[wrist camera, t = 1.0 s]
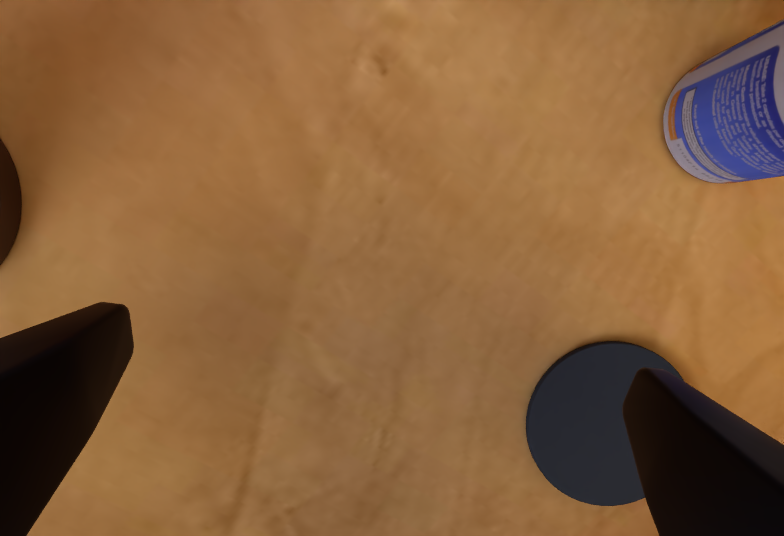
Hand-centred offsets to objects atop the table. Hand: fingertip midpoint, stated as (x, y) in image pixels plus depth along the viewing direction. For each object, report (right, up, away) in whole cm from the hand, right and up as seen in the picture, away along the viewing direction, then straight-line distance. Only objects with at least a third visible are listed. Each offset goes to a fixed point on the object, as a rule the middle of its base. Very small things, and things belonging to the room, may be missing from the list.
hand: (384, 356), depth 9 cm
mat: (+10, -5, +14) cm, 18 cm away
